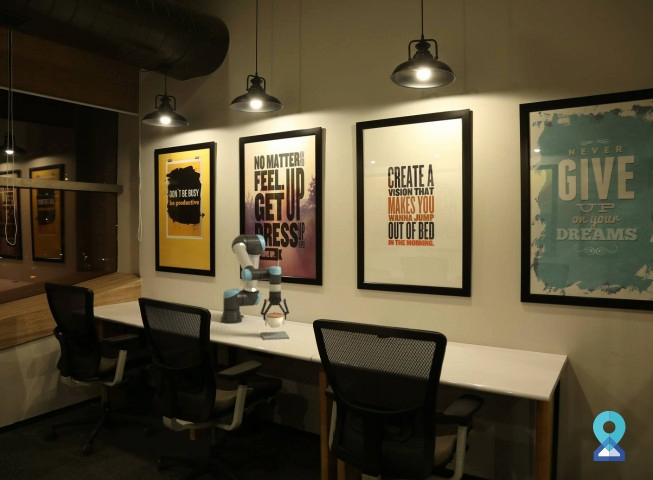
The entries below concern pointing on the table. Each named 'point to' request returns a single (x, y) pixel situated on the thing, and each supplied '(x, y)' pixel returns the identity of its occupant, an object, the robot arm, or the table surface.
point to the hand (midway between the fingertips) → (274, 325)
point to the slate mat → (274, 335)
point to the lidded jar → (274, 319)
